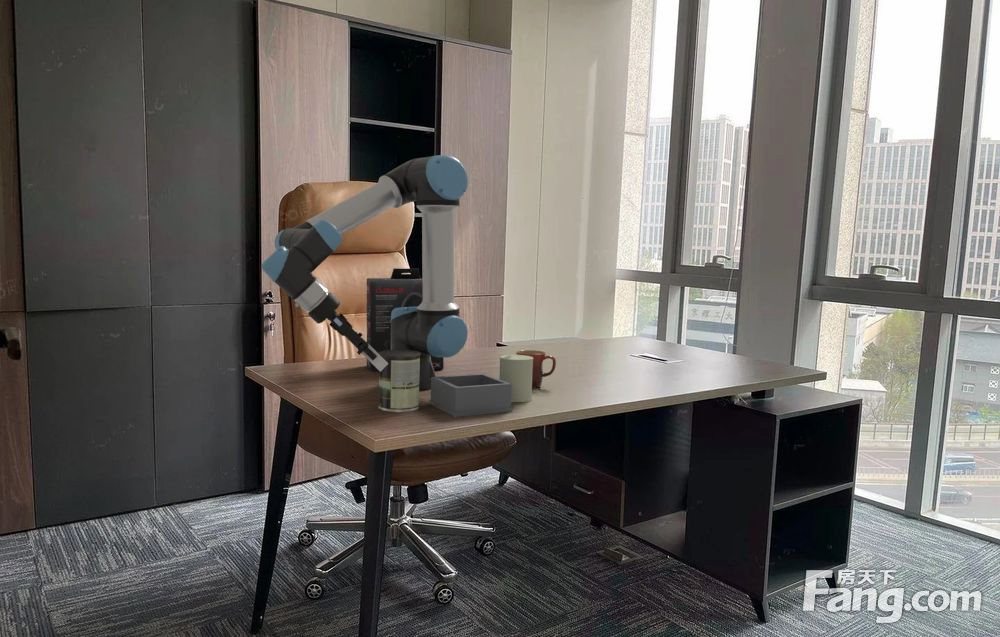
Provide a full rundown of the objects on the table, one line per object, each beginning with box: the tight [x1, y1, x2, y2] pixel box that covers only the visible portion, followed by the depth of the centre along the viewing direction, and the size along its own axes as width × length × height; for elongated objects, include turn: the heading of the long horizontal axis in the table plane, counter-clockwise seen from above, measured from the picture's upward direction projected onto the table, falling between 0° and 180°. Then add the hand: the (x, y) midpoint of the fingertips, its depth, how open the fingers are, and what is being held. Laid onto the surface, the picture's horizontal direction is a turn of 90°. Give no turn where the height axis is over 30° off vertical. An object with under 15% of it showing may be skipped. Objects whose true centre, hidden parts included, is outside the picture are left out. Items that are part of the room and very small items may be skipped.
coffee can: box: [377, 350, 420, 413], centre depth 184 cm, size 10×10×14 cm
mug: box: [515, 349, 557, 389], centre depth 216 cm, size 12×9×10 cm
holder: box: [428, 373, 514, 418], centre depth 187 cm, size 16×16×7 cm
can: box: [499, 354, 533, 403], centre depth 198 cm, size 9×9×12 cm
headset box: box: [366, 267, 445, 372], centre depth 241 cm, size 25×12×33 cm, turn 106°
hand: (380, 363), depth 181 cm, fingers open, 13 cm apart
